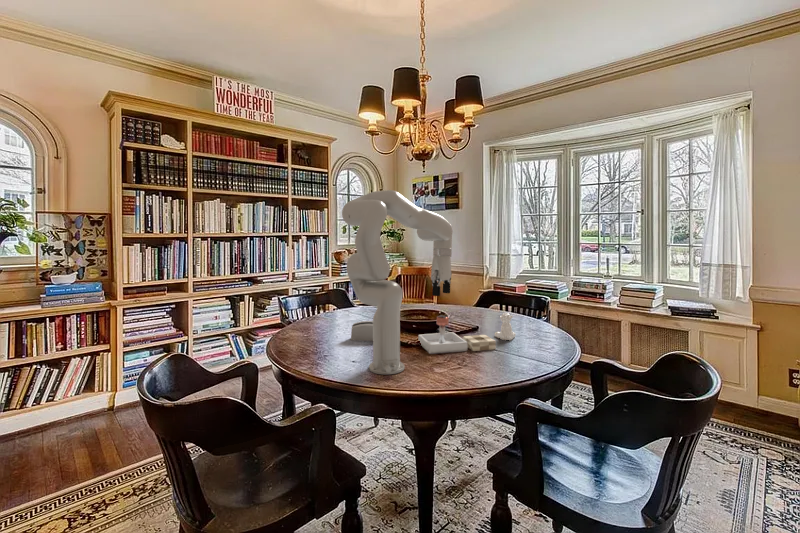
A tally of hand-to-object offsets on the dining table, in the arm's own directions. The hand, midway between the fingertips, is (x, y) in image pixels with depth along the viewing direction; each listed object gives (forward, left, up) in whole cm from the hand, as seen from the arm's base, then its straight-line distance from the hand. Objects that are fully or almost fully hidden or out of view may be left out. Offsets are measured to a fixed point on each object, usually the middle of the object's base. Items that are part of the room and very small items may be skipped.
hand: (441, 294), depth 165 cm
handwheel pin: (0, 0, -22) cm, 22 cm away
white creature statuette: (+4, -33, -23) cm, 40 cm away
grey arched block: (+18, +27, -23) cm, 40 cm away
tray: (0, -1, -22) cm, 22 cm away
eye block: (-4, -16, -22) cm, 27 cm away
